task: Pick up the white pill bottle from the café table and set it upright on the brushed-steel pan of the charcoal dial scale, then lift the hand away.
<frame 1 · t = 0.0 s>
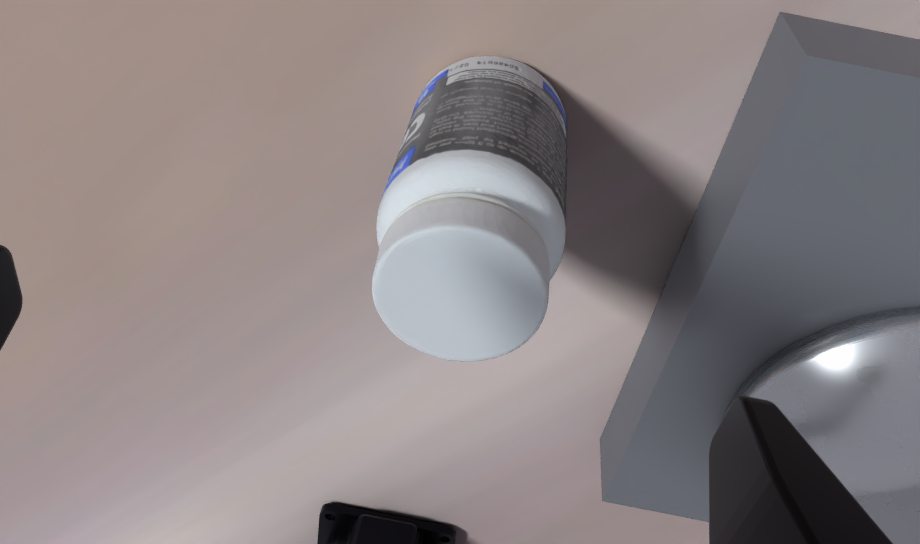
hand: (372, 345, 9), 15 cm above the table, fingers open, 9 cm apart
scale pan: (898, 446, 25), point 4 cm above the table, slide at -0.3 cm
scale: (901, 316, 26), on the table
pill bottle: (490, 123, 24), on the table
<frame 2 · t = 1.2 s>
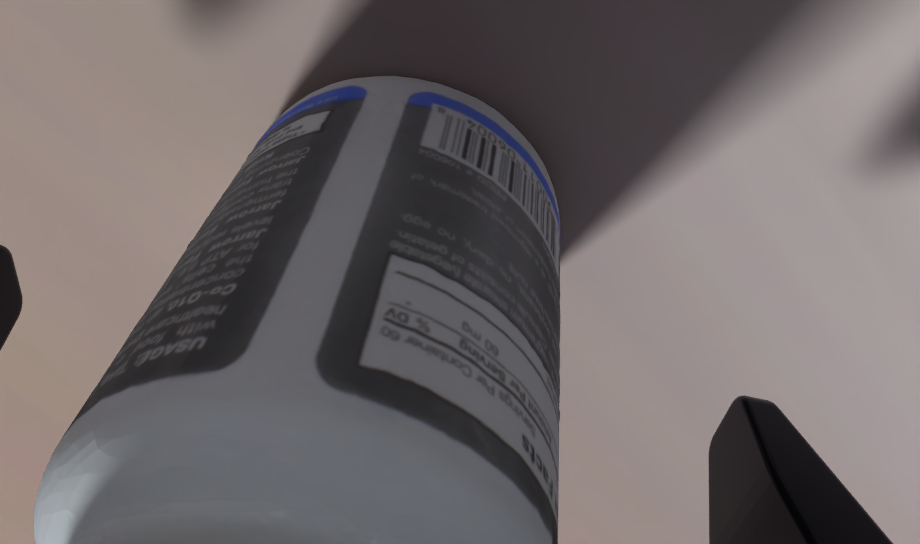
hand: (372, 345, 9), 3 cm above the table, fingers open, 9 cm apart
pill bottle: (409, 206, 12), on the table
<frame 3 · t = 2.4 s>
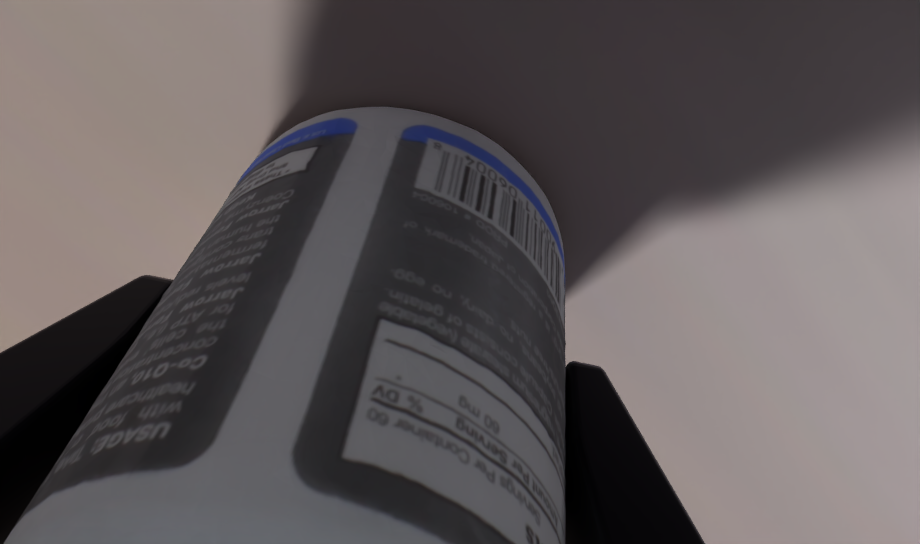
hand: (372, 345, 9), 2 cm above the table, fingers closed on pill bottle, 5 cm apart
pill bottle: (404, 240, 11), on the table, touching gripper
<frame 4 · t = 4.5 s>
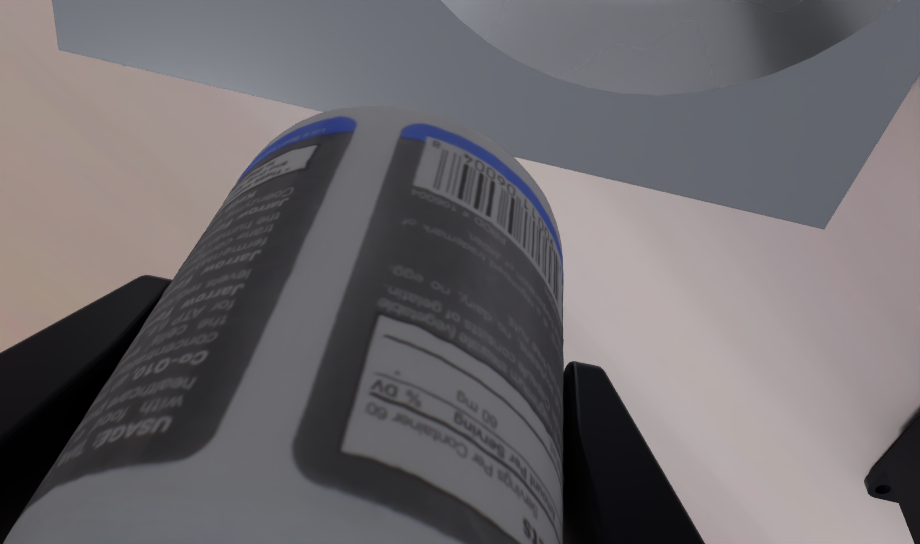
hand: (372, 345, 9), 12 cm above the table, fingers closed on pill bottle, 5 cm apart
pill bottle: (403, 238, 11), point 10 cm above the table, touching gripper
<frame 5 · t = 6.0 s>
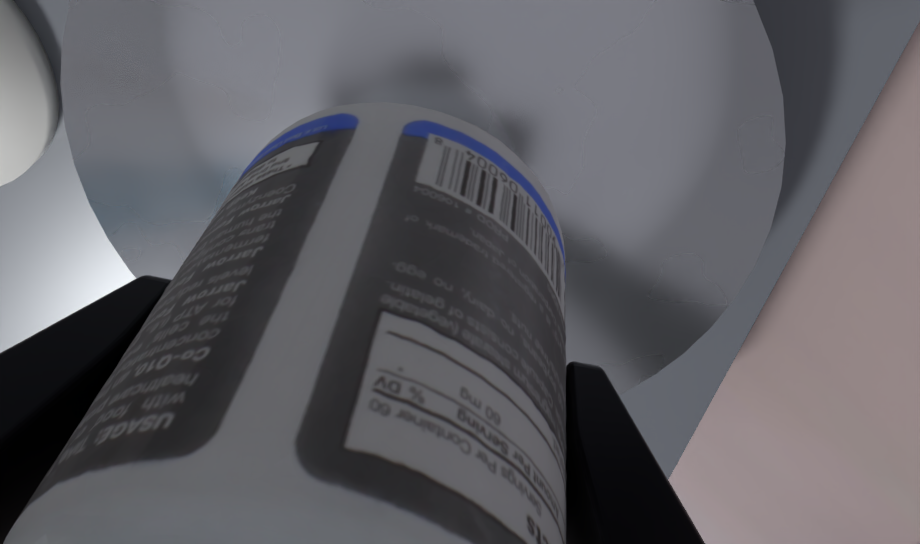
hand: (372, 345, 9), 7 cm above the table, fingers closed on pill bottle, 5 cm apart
scale pan: (416, 179, 12), point 4 cm above the table, slide at -0.3 cm
scale: (321, 60, 15), on the table
pill bottle: (405, 236, 11), point 5 cm above the table, touching gripper
when the fingers open (7 cm above the table, at t = 6.5 s): pill bottle drops 1 cm, resting on scale pan.
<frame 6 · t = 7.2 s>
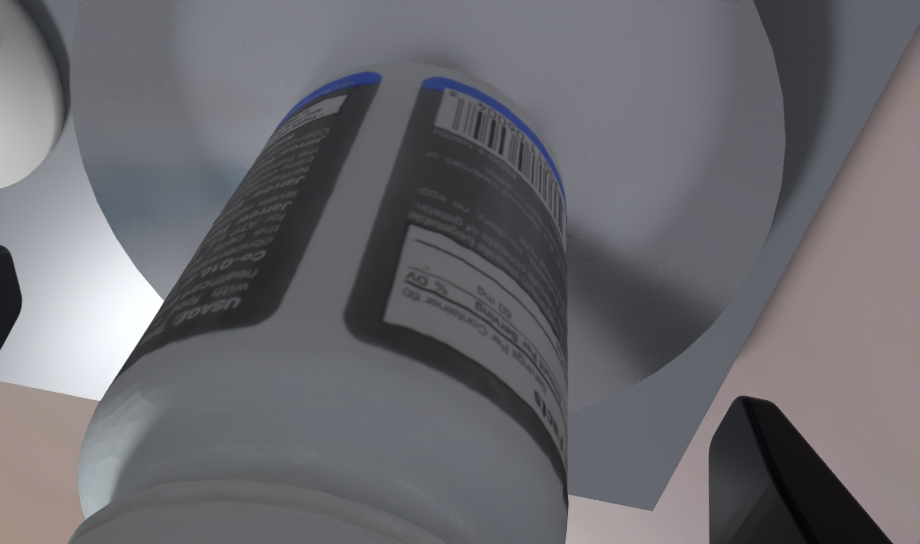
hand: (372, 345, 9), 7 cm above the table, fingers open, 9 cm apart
scale pan: (420, 178, 13), point 4 cm above the table, slide at -0.4 cm, touching pill bottle
scale: (325, 62, 15), on the table
pill bottle: (420, 190, 12), point 4 cm above the table, touching scale pan
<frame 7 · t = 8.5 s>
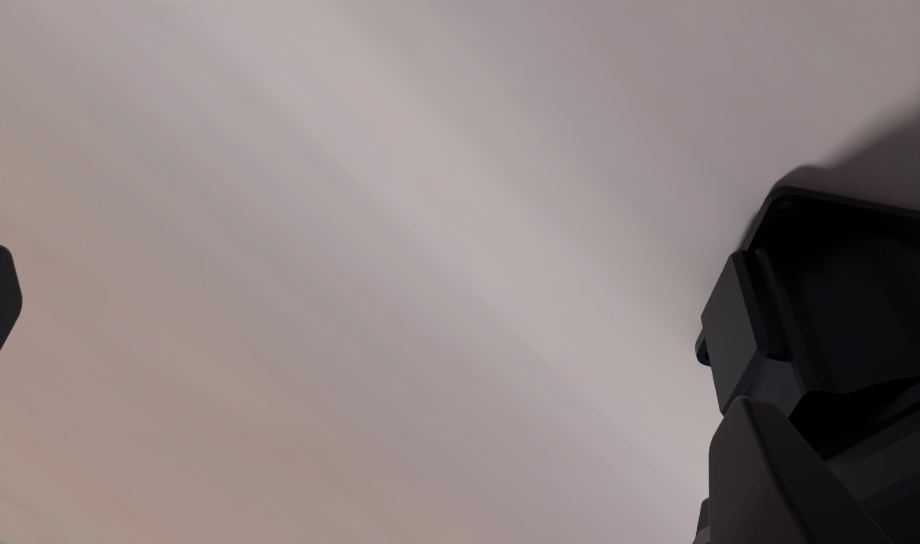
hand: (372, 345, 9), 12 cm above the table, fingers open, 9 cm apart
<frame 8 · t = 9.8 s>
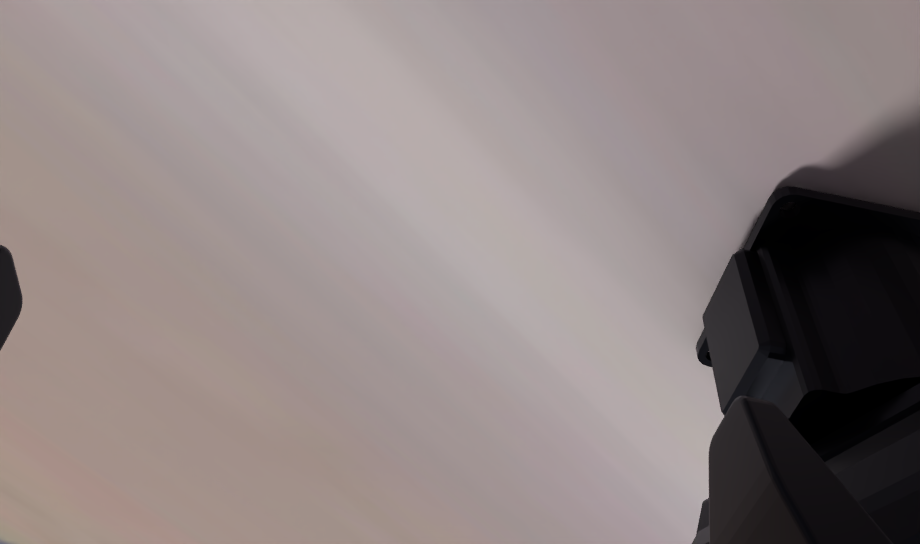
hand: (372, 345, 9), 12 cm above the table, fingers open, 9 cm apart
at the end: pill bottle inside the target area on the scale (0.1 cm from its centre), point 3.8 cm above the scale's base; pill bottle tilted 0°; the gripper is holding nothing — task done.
